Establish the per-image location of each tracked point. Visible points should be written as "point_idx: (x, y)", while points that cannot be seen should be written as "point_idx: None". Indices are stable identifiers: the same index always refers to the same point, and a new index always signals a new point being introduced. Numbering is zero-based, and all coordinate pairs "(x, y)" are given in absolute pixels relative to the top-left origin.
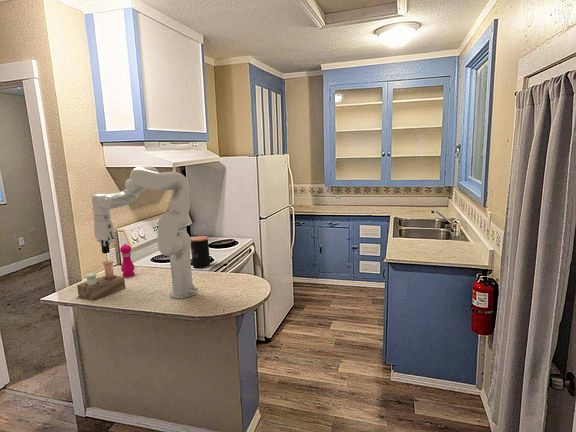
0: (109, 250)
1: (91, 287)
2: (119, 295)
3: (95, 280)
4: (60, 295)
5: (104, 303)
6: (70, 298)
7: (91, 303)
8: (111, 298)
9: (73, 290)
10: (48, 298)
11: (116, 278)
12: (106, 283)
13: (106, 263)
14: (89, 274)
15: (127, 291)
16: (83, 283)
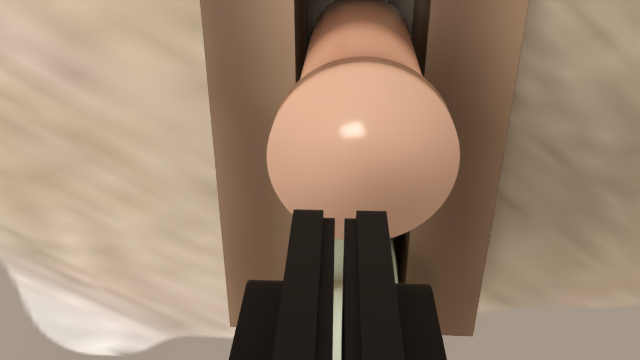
0: (388, 237)
1: (442, 325)
2: (608, 116)
3: (395, 278)
4: (78, 284)
5: (606, 276)
6: (226, 296)
7: (494, 305)
8: (583, 191)
9: (41, 181)
10: (67, 342)
11: (476, 39)
12: (494, 201)
13: (413, 218)
14: (336, 350)
15: (615, 4)
16: (241, 281)
